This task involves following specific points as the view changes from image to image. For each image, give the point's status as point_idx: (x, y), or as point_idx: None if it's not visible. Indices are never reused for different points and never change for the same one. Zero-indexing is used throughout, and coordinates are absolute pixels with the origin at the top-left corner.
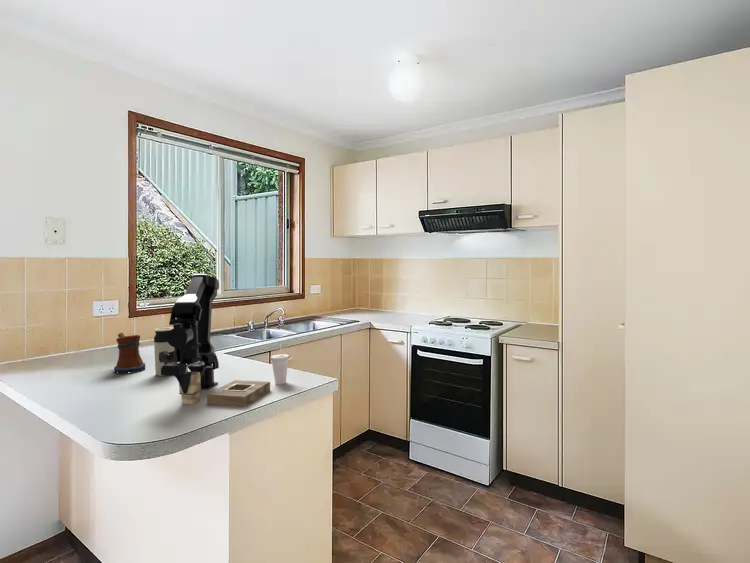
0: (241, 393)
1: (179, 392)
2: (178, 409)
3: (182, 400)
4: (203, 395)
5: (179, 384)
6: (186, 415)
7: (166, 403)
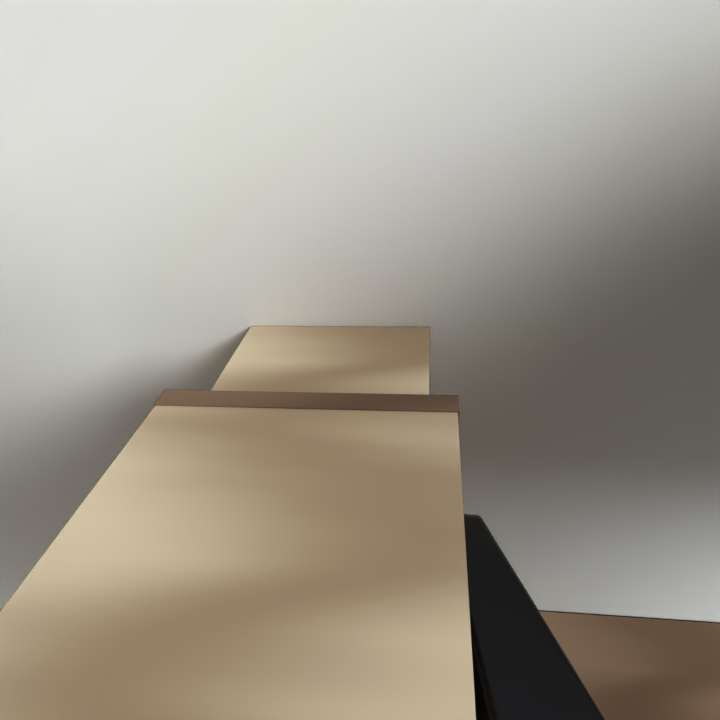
0: None
1: (149, 413)
2: (67, 420)
3: (238, 360)
4: (672, 403)
5: (53, 556)
6: (3, 573)
7: (162, 46)
